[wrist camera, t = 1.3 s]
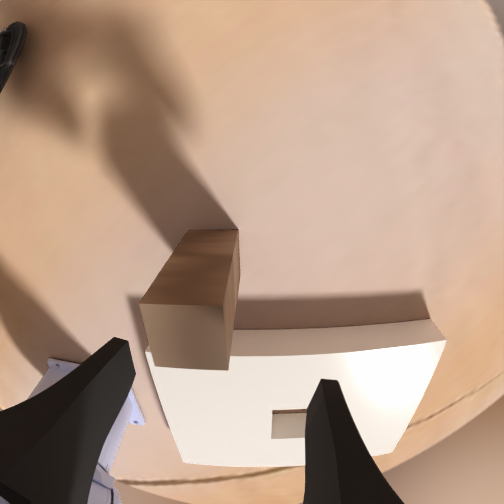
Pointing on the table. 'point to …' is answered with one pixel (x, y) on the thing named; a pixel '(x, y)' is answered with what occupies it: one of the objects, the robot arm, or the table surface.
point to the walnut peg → (194, 302)
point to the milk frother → (10, 49)
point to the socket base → (297, 390)
